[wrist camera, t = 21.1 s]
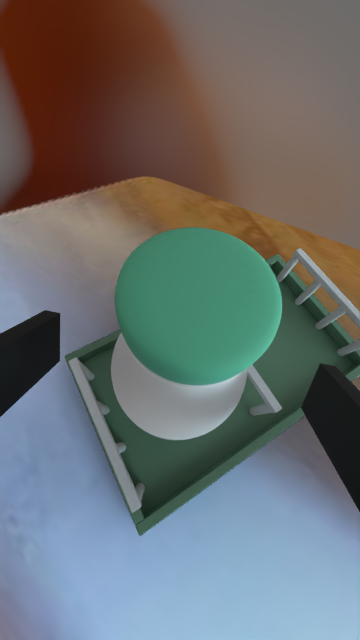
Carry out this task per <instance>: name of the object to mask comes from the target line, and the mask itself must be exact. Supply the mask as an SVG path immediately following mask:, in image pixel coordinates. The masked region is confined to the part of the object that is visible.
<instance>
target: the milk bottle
mask: <svg viewBox="0 0 360 640" xmlns="http://www.w3.org/2000/svg"><path fill="white" fill-rule="evenodd" d="M115 310H116V315H117V319H118V323H119V327H120V330H121V334H120V335H119V337H118V339H117V342H116V344H115V347H114V351H113V356H112V362H111V377H112V383H113V388H114V392H115V395H116V398H117V400H118V402H119V404H120V406H121V408H122V409H123V411H124V412H125V413H126V415H127V416H128V417H129V418H130V419H131V420H132V422H133V423H135V424H136V425H137V426H138V427H139V428H140V429H142V430H143V431H145V432H147V433H148V434H150V435H153V436H155V437H158V438H161V439H166V440H187V439H191V438H195V437H199V436H201V435H204V434H206V433H208V432H210V431H212V430H213V429H215V428H216V427H218V426H219V425H220V424H222V423H223V422H224V421H225V420H226V419H227V418H228V417H229V415H230V414H231V413H232V412H233V411H234V409H235V408H236V406H237V404H238V402H239V401H240V398H241V396H242V393H243V391H244V388H245V384H246V379H247V368H248V367H250V366H251V365H252V364H253V363H254V362H255V361H256V360H258V359H259V358H260V357H261V356H262V355H263V353H264V352H265V351H266V350H267V349H268V347H269V346H270V344H271V343H272V341H273V339H274V337H275V335H276V332H277V330H278V327H279V324H280V320H281V314H282V297H281V292H280V288H279V284H278V282H277V279H276V277H275V275H274V273H273V271H272V270H271V268H270V267H269V265H268V264H267V262H266V261H265V260H264V259H263V258H262V257H261V256H260V254H259V253H257V252H256V251H255V250H254V249H253V248H252V247H250V246H249V245H248V244H246V243H244V242H243V241H241V240H239V239H238V238H236V237H234V236H231V235H229V234H226V233H224V232H220V231H217V230H213V229H207V228H197V227H189V228H178V229H173V230H169V231H166V232H163V233H160V234H158V235H155V236H153V237H152V238H150V239H148V240H146V241H145V242H144V243H142V244H141V245H140V246H138V247H137V248H136V249H135V250H134V251H133V252H132V253H131V255H130V256H129V257H128V258H127V260H126V261H125V263H124V265H123V267H122V269H121V271H120V274H119V277H118V280H117V285H116V289H115Z"/></svg>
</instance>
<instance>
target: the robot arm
mask: <svg viewBox="0 0 360 640" xmlns="http://www.w3.org/2000/svg"><path fill="white" fill-rule="evenodd" d="M59 361H60V313H56V312H51V311H46V310H45V311H43V312H41V313H39V314H37V315H35V316H33V317H31V318H30V319H28V320H26V321H24V322H22V323H20V324H18V325H16V326H14V327H12V328H10V329H9V330H7V331H5V332H3V333H1V334H0V417H1V416H2V415H3V414H4V413H5V412H6V411H7V410H8V409H9V408H10V407H11V406H12V405H14V404H15V403H16V402H17V401H18V400H19V399H20V398H21V397H22V396H23V395H24V394H25V393H26V392H27V391H28V390H29V389H31V388H32V387H33V386H34V385H35V384H36V383H37V382H38V381H39V380H40V379H41V378H42V377H43V376H44V375H45V374H46V373H48V372H49V371H50V370H51V369H52V368H53V367H54V366H55V365H56V364H57V363H58V362H59ZM301 409H302V411H303V412H304V414H305V416H306V418H307V419H308V421H309V423H310V425H311V427H312V428H313V430H314V432H315V434H316V435H317V437H318V439H319V441H320V442H321V444H322V446H323V448H324V450H325V451H326V453H327V455H328V457H329V458H330V460H331V462H332V464H333V465H334V467H335V469H336V471H337V473H338V474H339V476H340V478H341V480H342V481H343V483H344V485H345V487H346V488H347V490H348V492H349V494H350V496H351V497H352V499H353V501H354V503H355V504H356V506H357V508H358V510H359V511H360V391H359V390H358V389H357V388H356V387H355V386H354V385H353V384H352V383H351V381H350V380H349V379H348V378H347V377H346V376H345V375H344V374H343V373H342V372H341V371H340V370H339V369H338V368H337V367H336V366H332V365H327V364H322V363H320V364H319V367H318V369H317V371H316V374H315V376H314V378H313V381H312V383H311V385H310V388H309V390H308V392H307V395H306V397H305V399H304V402H303V404H302V407H301Z"/></svg>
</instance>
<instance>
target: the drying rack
mask: <svg viewBox="0 0 360 640" xmlns="http://www.w3.org/2000/svg"><path fill="white" fill-rule="evenodd" d="M265 261H266V262H267V264H268V265H269V267H270V268H271V270H272V271H273V273H274V275H275V277H276V279H277V282H278V284H279V288H280V292H281V297H282V314H281V320H280V324H279V327H278V330H277V332H276V335H275V337H274V339H273V341H272V343H271V344H270V346H269V347H268V349H267V350H266V351H265V352H264V353H263V355H262V356H261V357H260V358H259V359H258V360H256V361H255V362H254V363H253V364H252V365H251V366H250V367H248V368H247V379H246V384H245V388H244V391H243V393H242V396H241V398H240V401H239V402H238V404H237V406H236V408H235V409H234V411H233V412H232V413H231V414H230V415H229V417H228V418H227V419H226V420H225V421H224V422H223V423H222V424H220V425H219V426H218V427H216V428H215V429H213V430H212V431H210V432H208V433H206V434H204V435H201V436H199V437H195V438H191V439H187V440H166V439H161V438H158V437H155V436H153V435H150V434H148V433H147V432H145V431H143V430H142V429H140V428H139V427H138V426H137V425H136V424H135V423H133V422H132V420H131V419H130V418H129V417H128V416H127V415H126V413H125V412H124V411H123V409H122V408H121V406H120V404H119V402H118V400H117V398H116V395H115V392H114V388H113V383H112V377H111V362H112V356H113V351H114V347H115V344H116V342H117V339H118V337H119V335H120V334H121V330H118V331H116V332H114V333H112V334H110V335H108V336H106V337H103V338H101V339H99V340H97V341H95V342H93V343H91V344H89V345H87V346H85V347H83V348H80V349H78V350H76V351H74V352H72V353H70V354H68V355H66V356H65V359H66V361H67V363H68V366H69V368H70V371H71V373H72V376H73V378H74V380H75V383H76V385H77V388H78V390H79V392H80V395H81V397H82V400H83V402H84V404H85V407H86V409H87V412H88V414H89V416H90V419H91V421H92V424H93V426H94V428H95V431H96V433H97V436H98V438H99V440H100V443H101V445H102V448H103V450H104V452H105V455H106V457H107V460H108V462H109V464H110V467H111V469H112V472H113V474H114V476H115V479H116V481H117V483H118V486H119V488H120V491H121V493H122V495H123V498H124V500H125V503H126V505H127V507H128V510H129V512H130V515H131V517H132V519H133V522H134V524H135V526H136V529H137V531H138V534H139V536H141V535H142V534H144V533H145V532H147V531H148V530H149V529H151V528H152V527H153V526H155V525H156V524H158V523H159V522H160V521H162V520H163V519H164V518H166V517H167V516H168V515H170V514H171V513H173V512H174V511H175V510H177V509H178V508H179V507H181V506H182V505H183V504H185V503H186V502H188V501H189V500H190V499H192V498H193V497H194V496H196V495H197V494H199V493H200V492H201V491H203V490H204V489H205V488H207V487H208V486H209V485H211V484H212V483H214V482H215V481H216V480H218V479H219V478H220V477H222V476H223V475H224V474H226V473H227V472H229V471H230V470H231V469H233V468H234V467H235V466H237V465H238V464H240V463H241V462H242V461H244V460H245V459H246V458H248V457H249V456H250V455H252V454H253V453H255V452H256V451H257V450H259V449H260V448H261V447H263V446H264V445H265V444H267V443H268V442H270V441H271V440H272V439H274V438H275V437H276V436H278V435H279V434H281V433H282V432H283V431H285V430H286V429H287V428H289V427H290V426H291V425H293V424H294V423H296V422H297V421H298V420H300V419H301V418H302V417H304V416H305V414H304V412H303V411H302V409H301V407H302V404H303V402H304V399H305V397H306V395H307V392H308V390H309V388H310V385H311V383H312V381H313V378H314V376H315V374H316V371H317V369H318V367H319V364H320V363H322V364H327V365H332V366H336V367H337V368H338V369H339V370H340V371H341V372H342V373H343V374H344V375H345V376H346V377H347V378H348V379H349V380H350V381H351V382H352V381H353V380H354V379H356V378H357V377H358V376H360V339H359V340H357V341H354V340H353V339H352V338H351V336H350V335H349V334H348V333H347V332H346V331H345V330H344V328H343V327H342V326H341V325H340V324H339V323H338V322H337V320H336V319H337V318H339V317H340V316H342V315H343V314H345V313H347V315H348V316H349V317H350V318H351V319H352V320H353V321H354V322H355V323H356V325H357V326H358V327H359V328H360V312H359V311H358V310H357V308H356V307H355V306H354V305H353V304H352V303H351V302H350V301H349V300H348V299H347V298H346V297H345V296H344V294H343V293H342V292H341V291H340V290H339V289H338V288H337V287H336V286H335V285H334V284H333V283H332V281H331V280H330V279H329V278H328V277H327V276H326V275H325V274H324V273H323V272H322V271H321V270H320V269H319V267H318V266H317V265H316V264H315V263H314V262H313V261H312V260H311V259H310V258H309V257H308V256H307V254H306V253H305V252H304V251H303V250H302V249H301V248H300V249H298V250H296V251H295V252H294V254H293V256H292V258H291V259H290V260H289V262H288V263H286V262H285V261H284V260H283V259H282V258H281V257H280V255H279V254H277V255H275V256H273V257H271V258H269V259H266V260H265ZM298 261H300V262H301V264H302V265H303V266H304V267H305V268H306V269H307V270H308V271H309V272H310V274H311V275H312V276H313V277H314V278H315V279H316V280H315V281H314V282H313V283H312V284H311V285H310V286H309V287H307V286H306V285H305V284H304V283H303V282H302V280H301V279H300V278H299V277H298V276H297V275H296V274H295V272H294V271H293V270H292V268H293V267H294V266H295V264H296V263H297V262H298ZM320 286H322V287H323V288H324V289H325V290H326V291H327V292H328V294H329V295H330V296H331V297H332V298H333V299H334V300H335V301H336V302H337V304H338V305H339V306H340V307H339V308H337V309H336V310H335V311H333V312H332V313H330V312H329V311H328V310H327V309H326V308H325V307H324V306H323V304H322V303H321V302H320V301H319V300H318V299H317V298H316V296H315V295H314V294H313V293H314V292H315V291H316V290H317V289H318V288H319V287H320Z"/></svg>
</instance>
